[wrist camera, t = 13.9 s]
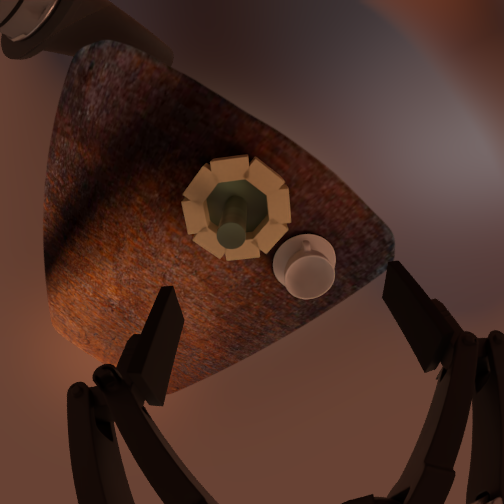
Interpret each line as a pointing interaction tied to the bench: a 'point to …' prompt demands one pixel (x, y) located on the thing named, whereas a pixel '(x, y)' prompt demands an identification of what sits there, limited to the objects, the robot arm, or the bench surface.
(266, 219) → the ring of blocks
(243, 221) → the stand
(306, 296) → the teacup
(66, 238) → the bench surface
